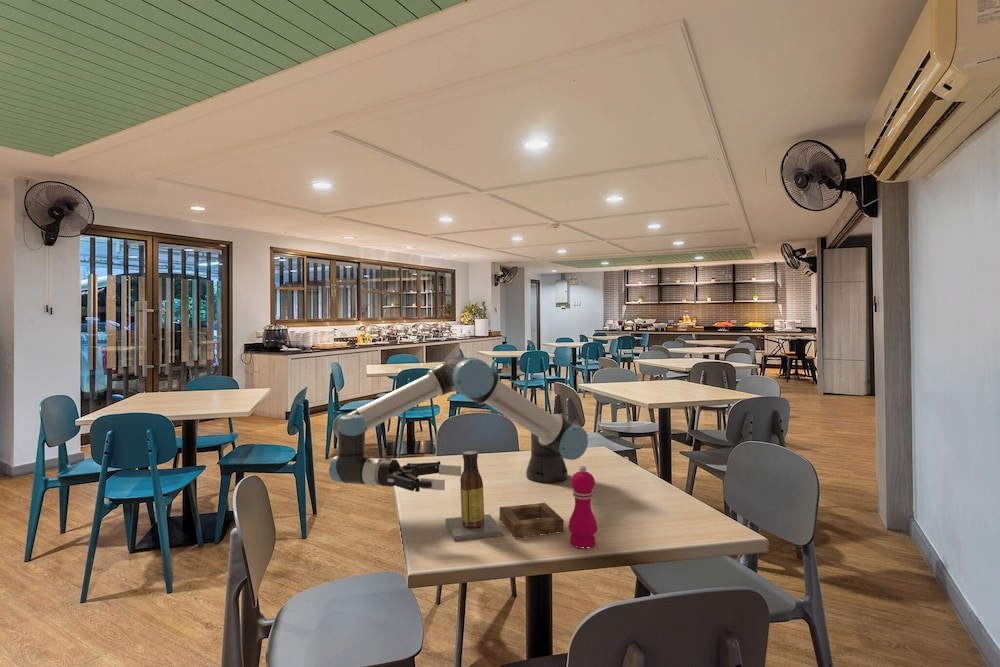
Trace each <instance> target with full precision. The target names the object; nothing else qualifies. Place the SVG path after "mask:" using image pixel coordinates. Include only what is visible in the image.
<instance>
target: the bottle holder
mask: <svg viewBox="0 0 1000 667" xmlns="http://www.w3.org/2000/svg"><path fill="white" fill-rule="evenodd" d="M537 518H539V519H537ZM528 519H530V520H528ZM500 520H501V521H502V522H501V521H500ZM499 521H500V522H501V523H502V524H504V525H505V526H504V525H503V526H504V527H505V529H506V528H507V529H508V530H509V531H508V530H507V529H506V530H507V531H508V533H509V532H510V533H511V534H512V535H511V534H510V533H509V534H510V535H511V537H512V536H513V537H521V538H525V537H524V536H529V537H533V536H532V535H538V536H541V535H540V534H547V535H550V534H549V533H556V532H565V531H564V530H565V529H564V527H565V525H564V522H565V521H564V519H563V517H561V516H560V515H559V514H558V513H557V512H556V511H555V510H553V508H552V507H550V506H549V505H548V503H546V502H541V503H530V504H521V505H520V504H519V505H507V506H500V507H499ZM556 534H557V533H556ZM513 537H512V538H513Z"/></svg>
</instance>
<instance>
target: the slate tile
mask: <svg viewBox="0 0 1000 667" xmlns="http://www.w3.org/2000/svg"><path fill="white" fill-rule="evenodd" d="M444 522H445V525H446V527H448V528H447V530H448V529H449V530H448V531H450V532H449V534H450V536H451V538H453V539H452V541H453V540H458V541H464V540H463V539H467V540H473V539H472V538H476V539H481V538H480V537H485V538H491V537H490V536H494V537H499V536H498V535H502V536H503V531H502V529H501V527H500V525H498V523H497V522H496V521H495V519H494V517H493V516H492V515H491V514H490V513H488V514H487V513H486V514H484V524H483V525H482V526H480V527H477V528H468V527H465V526H463V523H462V516H459V517H447V518H445V519H444Z"/></svg>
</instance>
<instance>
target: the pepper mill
mask: <svg viewBox="0 0 1000 667" xmlns="http://www.w3.org/2000/svg"><path fill="white" fill-rule="evenodd" d="M570 485H571V487H572V488H573V490H572V493H573V494H572V496H573V498H574V508H573V511H572V513H571V516H570V518H569V522H568V531H569V532H570V533H571V535H570V537H569V538H570V542H571V543H570V542H569V543H570V544H572V545H571V546H573V545H574V546H577V547H584V548H587V547H592V546H594V545H595V546H596V537H595V536H594V535H596V533H597V531H598V524H597V519H596V518H595V517H596V516H595V515H594V512H593V510H592V507H591V506H592V503H591V502H592V501H591V500H592V498H593V497H594V496H593V494H594V491H593V489H594V487H595V485H596V480H595V477H594V476H593V474H592V473H590V472H588V471H587V467H586V466H585V465H581V466H580V467H579V471H576V472H575V473H574V474H573V475H572V476H571V479H570ZM574 546H573V547H574ZM595 546H594V547H595ZM577 547H576V548H577ZM592 548H593V547H592Z"/></svg>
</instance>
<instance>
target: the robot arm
mask: <svg viewBox="0 0 1000 667" xmlns="http://www.w3.org/2000/svg"><path fill="white" fill-rule="evenodd" d="M452 392H453V393H454V392H456V393H459V394H461V395H463V396H464V397H466V398H468V399H469V400H471V401H472V402H474V403H475V404H477V405H479V406H480V405H483V404H486V405H488V407H491V408H492V409H494V410H495V411H497V412H499V413H500V414H501V415H503V416H505V417H506V418H508V419H510V420H511V421H512V422H514V423H515V424H518V425H519V426H520V427H522V428H523V429H525V430H526V431H527V432H530V447H531V448H530V452H531V453H530V459H529V461H528V465H527V467H526V472H525V476H526V478H527V479H528V480H531V481H533V482H537V483H545V484H546V483H560V482H564V481H565V480H568V477H569V476H568V475H569V474H568V472H569V471H568V469H567V465H566V462H565V460H568V461H569V460H571V461H574V460H577V459H580V458H581V457H582V456H583V455H584V454H585V452H586V451H587V448H588V444H589V438H588V433H587V431H586V430H585V429H584V428H583V427H582V426H581V425H579V424H574V423H572V421H571V422H570V421H569V420H568V419H566V418H564V417H563V415H562V413H550V412H548V411H546V410H544V409H543V408H541V407H540V406H538V405H537V404H536V403H534V401H533V402H532V401H531V400H529V399H528V398H527V397H525V396H523V394H521V393H519V392H517V391H516V390H515V389H513V388H511V387H510V386H509V385H507V384H505V383H504V382H503V381H501V380H500V375H499V374H498V373H497V372H496V371H494V370H493V369H492V368H491V367H490V365H489V364H487V362H485V361H483V360H482V359H480V358H475V357H467V356H455V357H452V358H450V359H448V360H446V361H444V362H442V363H440V364H439V365H436V366H434V367H433V368H431V369H429V370H427V372H426V375H423V376H422V377H419V378H418V379H415V380H412V381H411V382H409V383H407V384H404V385H403V386H401V387H399V388H397V389H395V390H393V391H391V392H388V393H387V394H384V395H383V396H380V397H378V398H377V399H375V400H373V401H371V402H369V403H367V404H364V405H363V406H360V407H359V408H356V409H354V410H352V411H351V412H347V413H340V414H339V415H337V416H336V417H335V418H334V419H333V422H332V432H333V434H334V436H335V437H336V438H337V442H338V443H337V444H338V446H337V447H338V452H337V453H338V454H337V455H335V456H334V457H333V458H332V459H331V460H330V463H329V467H328V475H329V477H330V479H331V480H332V481H334V482H337V483H343V484H355V485H370V486H371V487H372V488H373V487H376V486H382V487H390V488H391V487H398V488H401V489H404V490H408V491H411V492H414V491H415V492H421V491H420V489H422V490H424V489H425V490H433V491H434V490H435V491H437V490H438V491H445V489H446V487H445V486H446V484H445V483H446V481H445V478H435V477H434V478H432V477H421V476H427V475H434V474H438V475H441V476H442V475H443V476H455V477H461V474H462V466H461V465H454V464H453V465H452V464H451V465H450V464H441V461H434V462H422V463H421V462H418V463H416V462H415V463H412V462H411V463H408V462H407V463H406V464H404V465H403V466H401V465H400V463H399V461H398V460H397V459H393V458H390V459H389V458H380V457H379V458H378V457H366V431H369V430H371V429H372V428H373V429H374V428H375V427H377V426H378V425H381V424H382V423H385V422H386V421H387V422H388V420H390V419H392V418H395V417H396V416H398V415H400V414H402V413H404V412H406V411H408V410H410V409H412V408H414V407H416V406H418V405H420V404H421V403H424V402H426V401H428V400H430V399H432V398H433V397H435V396H439V397H442V396H444V395H447V394H450V393H452ZM419 476H420V478H419Z"/></svg>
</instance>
